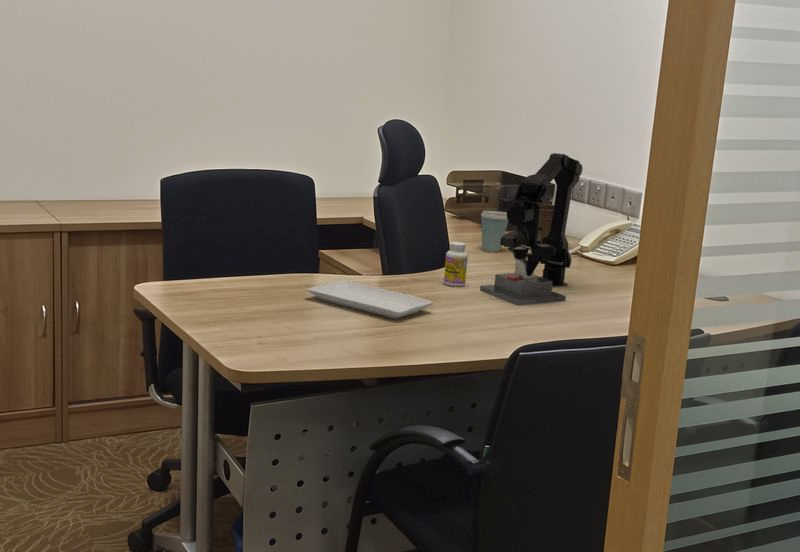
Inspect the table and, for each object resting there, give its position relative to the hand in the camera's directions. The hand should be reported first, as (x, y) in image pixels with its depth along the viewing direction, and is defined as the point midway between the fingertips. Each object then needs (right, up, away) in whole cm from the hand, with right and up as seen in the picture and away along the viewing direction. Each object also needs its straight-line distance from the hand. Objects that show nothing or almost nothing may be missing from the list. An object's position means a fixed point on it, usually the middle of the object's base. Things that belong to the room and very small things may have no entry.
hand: (524, 274), depth 275 cm
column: (0, -6, +1) cm, 6 cm away
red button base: (0, -6, +1) cm, 7 cm away
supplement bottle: (-20, -3, +10) cm, 23 cm away
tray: (-45, -9, -23) cm, 52 cm away
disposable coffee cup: (-3, +9, +71) cm, 71 cm away
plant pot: (+18, +10, +84) cm, 87 cm away
